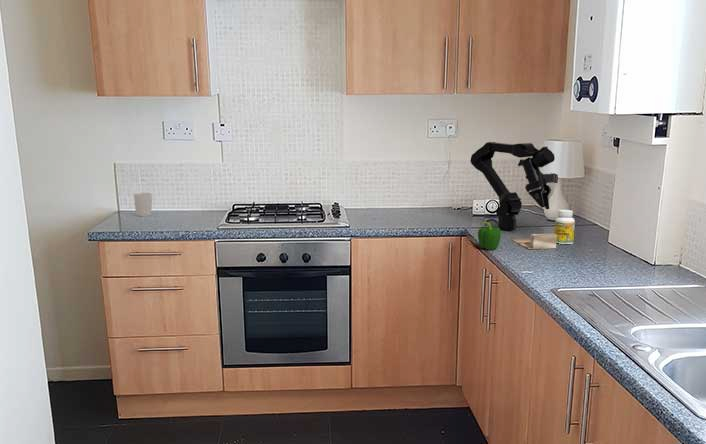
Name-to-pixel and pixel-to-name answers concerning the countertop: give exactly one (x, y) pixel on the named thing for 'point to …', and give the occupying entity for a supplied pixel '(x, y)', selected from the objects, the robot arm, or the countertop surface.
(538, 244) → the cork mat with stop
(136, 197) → the white cup
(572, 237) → the supplement bottle
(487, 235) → the bell pepper
